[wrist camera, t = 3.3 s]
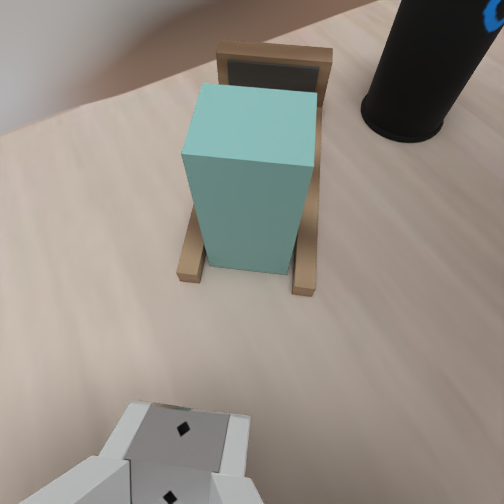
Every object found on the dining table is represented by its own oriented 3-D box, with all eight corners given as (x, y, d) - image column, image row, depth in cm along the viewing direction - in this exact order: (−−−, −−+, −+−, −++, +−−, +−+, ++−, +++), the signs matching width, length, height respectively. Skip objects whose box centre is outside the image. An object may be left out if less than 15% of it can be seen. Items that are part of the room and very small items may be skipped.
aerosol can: (349, 126, 33) (468, -224, 15) (373, 79, 36) (492, -252, 18) (432, 154, 31) (677, -203, 13) (449, 102, 34) (659, -237, 17)
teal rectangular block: (286, 274, 25) (313, 166, 15) (209, 266, 25) (181, 153, 15) (291, 220, 27) (317, 93, 17) (220, 213, 28) (202, 83, 17)
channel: (311, 296, 24) (329, 261, 19) (180, 280, 25) (161, 242, 20) (319, 106, 34) (332, 48, 29) (224, 98, 34) (219, 39, 29)
